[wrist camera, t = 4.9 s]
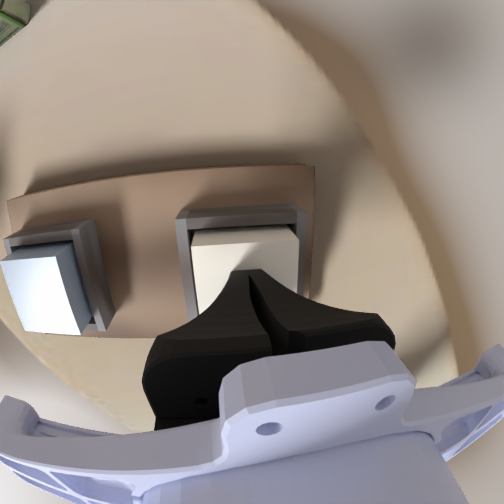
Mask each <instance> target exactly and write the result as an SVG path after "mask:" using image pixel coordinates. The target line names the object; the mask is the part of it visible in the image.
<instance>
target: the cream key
mask: <svg viewBox="0 0 504 504" xmlns="http://www.w3.org/2000/svg"><path fill="white" fill-rule="evenodd" d="M191 251H192V261H193V269H194V278H195V286H196V293H197V301H198V308H199V314H201V313H202V312H203V311H205V310H206V309H207V308H208V307H209V306H210V305H211V304H212V303H213V302H214V300H215V299H216V298H217V296H218V295H219V294H220V292H221V291H222V289H223V288H224V286H225V284H226V282H227V280H228V278H229V275H230V273H231V272H232V271H236V270H250V269H262V270H263V271H265V272H266V273H267V274H268V275H270V276H271V277H272V278H274V279H275V280H276V281H278V282H279V283H281V284H282V285H284V286H285V287H287V288H288V289H290V290H292V291H294V292H295V293H297V280H298V258H299V239H298V238H297V237H296V236H295V235H294V233H293V232H292V231H291V230H290V229H289V228H288V226H287V225H267V226H249V227H231V228H215V229H200V230H195V234H194V237H193V241H192V245H191Z"/></svg>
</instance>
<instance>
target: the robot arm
mask: <svg viewBox="0 0 504 504" xmlns="http://www.w3.org/2000/svg"><path fill="white" fill-rule="evenodd" d="M395 344H396V343H395V335H394V334H393V332H392V330H391V329H390V328H389V326H388V325H387V324H386V323H385V322H384V321H383V319H382V318H381V317H380V316H379V315H378V314H376V313H364V312H354V311H348V310H343V309H338V308H334V307H330V306H327V305H324V304H321V303H318V302H315V301H312V300H310V299H308V298H305V297H303V296H301V295H299V294H297V293H295V292H294V291H292V290H290V289H288V288H287V287H285V286H284V285H282V284H281V283H279V282H278V281H276V280H275V279H274V278H272V277H271V276H270V275H268V274H267V273H266V272H265V271H263V270H262V269H250V270H236V271H232V272H231V273H230V275H229V278H228V280H227V282H226V284H225V286H224V288H223V289H222V291H221V292H220V294H219V295H218V296H217V298H216V299H215V300H214V302H213V303H212V304H211V305H210V306H209V307H208V308H207V309H206V310H205V311H203V312H202V313H201V314H199V315H198V316H197V317H196V318H194V319H193V320H191V321H189V322H188V323H186V324H184V325H182V326H180V327H178V328H176V329H174V330H171V331H168V332H166V333H163V334H161V335H158V336H157V337H156V339H155V341H154V343H153V345H152V347H151V349H150V352H149V354H148V357H147V360H146V364H145V368H144V372H143V377H142V385H143V389H144V392H145V394H146V397H147V399H148V401H149V403H150V406H151V408H152V410H153V412H154V414H155V416H156V421H155V428H154V431H150V432H143V433H135V434H126V435H121V434H113V433H107V432H100V431H94V430H89V429H84V428H79V427H74V426H69V425H65V424H61V423H57V422H53V421H49V420H46V419H42V418H40V417H39V416H38V414H37V412H36V411H35V410H34V408H33V407H32V406H31V405H29V404H28V403H27V402H25V401H22V400H19V399H16V398H13V397H10V396H4V398H3V400H2V402H1V403H0V462H1V463H2V464H3V465H4V466H6V467H7V468H8V469H9V470H10V471H11V472H13V473H14V474H15V475H16V476H17V477H19V478H20V479H21V480H23V481H24V482H27V483H29V484H31V485H33V486H35V487H37V488H39V489H42V490H44V491H46V492H48V493H50V494H53V495H55V496H58V497H60V498H63V499H65V500H68V501H70V502H72V503H75V504H469V503H468V501H467V499H466V497H465V495H464V493H463V491H462V490H461V488H460V486H459V484H458V483H457V481H456V479H455V477H454V475H453V474H452V472H451V470H450V469H449V467H448V465H447V463H446V461H448V460H449V459H451V458H452V457H454V456H455V455H456V454H458V453H459V452H461V451H462V450H463V449H465V448H466V447H467V446H469V445H470V444H471V443H472V442H474V441H475V440H476V439H478V437H480V436H481V435H482V434H484V433H485V432H486V431H488V430H489V429H490V428H491V427H492V426H494V425H495V424H496V423H497V422H499V421H500V420H501V419H502V418H503V417H504V348H503V347H502V346H501V345H500V344H497V345H495V346H494V347H492V348H490V349H488V350H487V351H485V352H484V353H483V354H482V355H481V357H480V358H479V360H478V362H477V364H476V366H475V368H474V369H473V370H471V371H469V372H467V373H465V374H463V375H461V376H459V377H457V378H455V379H453V380H451V381H449V382H447V383H445V384H443V385H441V386H438V387H430V388H419V389H415V385H416V379H415V378H414V376H413V375H412V374H411V372H410V371H409V370H408V368H407V367H406V366H405V364H404V363H403V362H402V360H401V359H400V358H399V357H398V355H397V354H396V353H395V351H394V349H395Z"/></svg>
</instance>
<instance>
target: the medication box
mask: <svg viewBox="0 0 504 504" xmlns="http://www.w3.org/2000/svg"><path fill="white" fill-rule="evenodd" d="M30 12H31V9H30V4H28V3H26V2H25V1H23V0H0V46H2V45H3V44H4V43H5V42H6V41H7V40H9V39H10V38H11V37H12V36H13V35H15V34H16V33H17V32H18V31H20V30H21V29H22V28H24V27H25V26H26V25H27V24H28V23H29V19H30Z"/></svg>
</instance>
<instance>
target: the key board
mask: <svg viewBox="0 0 504 504" xmlns="http://www.w3.org/2000/svg"><path fill="white" fill-rule="evenodd" d="M314 177H315V166H310V165H305V164H259V165H231V166H213V167H198V168H186V169H175V170H165V171H155V172H147V173H139V174H131V175H124V176H117V177H110V178H104V179H98V180H92V181H86V182H81V183H75V184H70V185H65V186H60V187H55V188H51V189H46V190H42V191H37V192H33V193H29V194H25V195H22V196H19V197H16V198H13V199H11V200H8V201H7V207H8V213H9V218H10V224H11V229H12V233H13V234H12V235H10V236H8V237H6V238H5V239H3V240H4V244H5V248H6V252H7V256H8V255H10V254H11V253H13V252H14V251H16V250H17V249H19V248H20V247H22V246H26V245H35V244H43V243H52V242H61V241H71V240H73V243H74V247H75V252H76V256H77V260H78V265H79V269H80V272H81V276H82V280H83V284H84V287H85V291H86V294H87V297H88V301H89V304H90V307H91V310H92V313H93V316H92V318H91V319H90V321H89V323H88V324H87V326H86V328H85V329H84V331H83V333H82V334H81V335H71V334H56V333H45V334H52V335H65V336H81V337H105V338H156V337H157V336H158V335H161V334H163V333H166V332H168V331H171V330H174V329H176V328H178V327H180V326H182V325H184V324H186V323H188V322H189V321H191V320H193V319H194V318H196V317H197V316H198V315H199V308H198V301H197V293H196V286H195V278H194V269H193V261H192V251H191V245H192V241H193V237H194V234H195V230H200V229H215V228H231V227H249V226H267V225H287V226H288V228H289V229H290V230H291V231H292V232H293V233H294V235H295V236H296V237H297V238H298V239H299V258H298V280H297V294H299V295H301V296H303V297H305V298H308V299H309V290H310V276H311V260H312V242H313V219H314Z"/></svg>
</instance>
